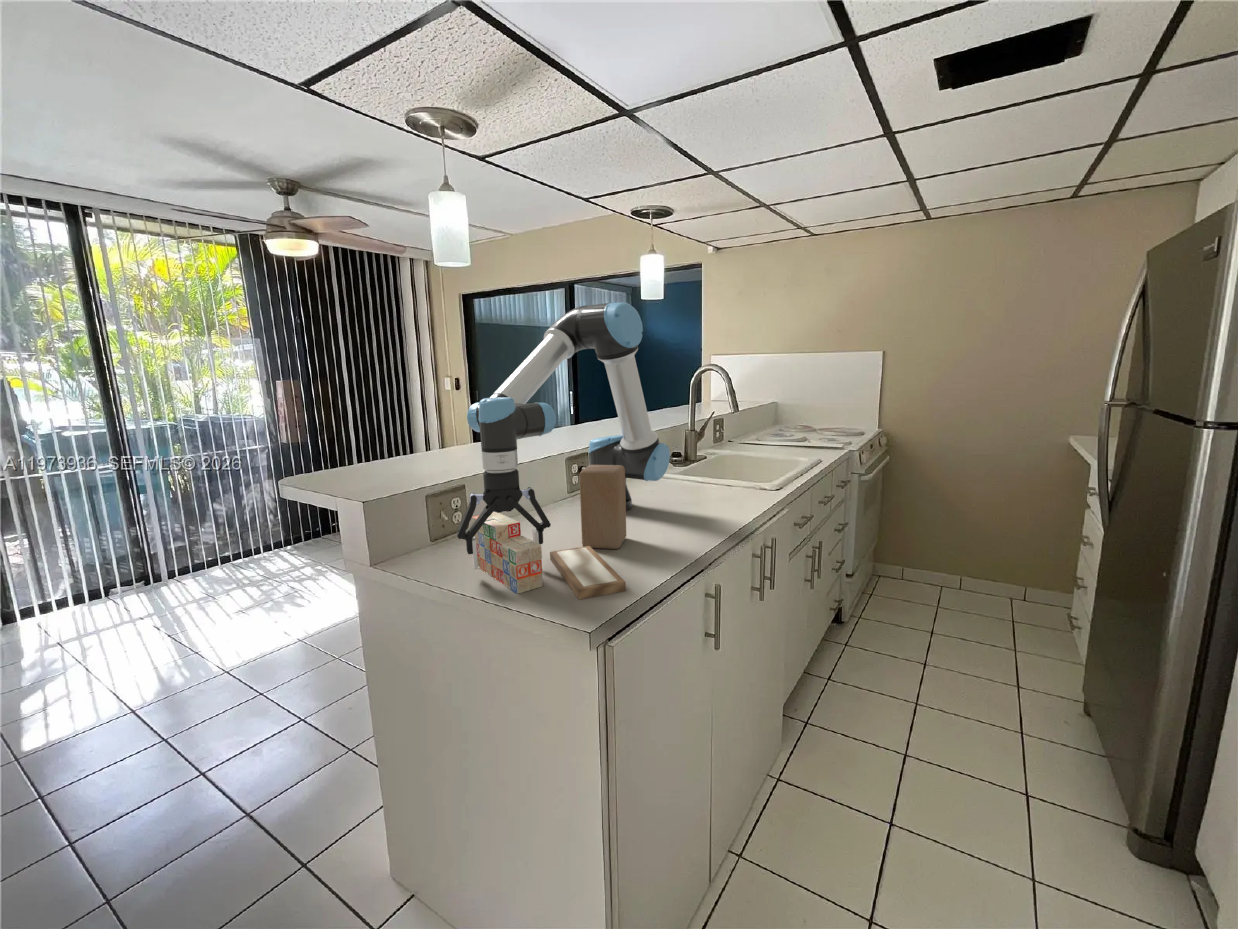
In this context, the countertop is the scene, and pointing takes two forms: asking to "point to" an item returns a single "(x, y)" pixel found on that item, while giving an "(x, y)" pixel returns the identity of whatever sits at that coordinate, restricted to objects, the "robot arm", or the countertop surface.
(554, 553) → the picture frame
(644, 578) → the countertop surface
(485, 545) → the stack of blocks
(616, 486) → the block
